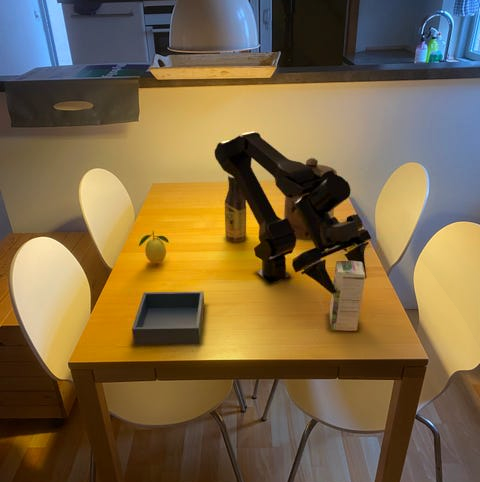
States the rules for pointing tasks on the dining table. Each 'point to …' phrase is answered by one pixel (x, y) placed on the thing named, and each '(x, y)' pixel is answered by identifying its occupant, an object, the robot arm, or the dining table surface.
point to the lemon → (155, 248)
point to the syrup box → (347, 295)
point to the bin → (169, 318)
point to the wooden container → (295, 217)
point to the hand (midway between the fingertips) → (349, 286)
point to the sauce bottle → (235, 212)
